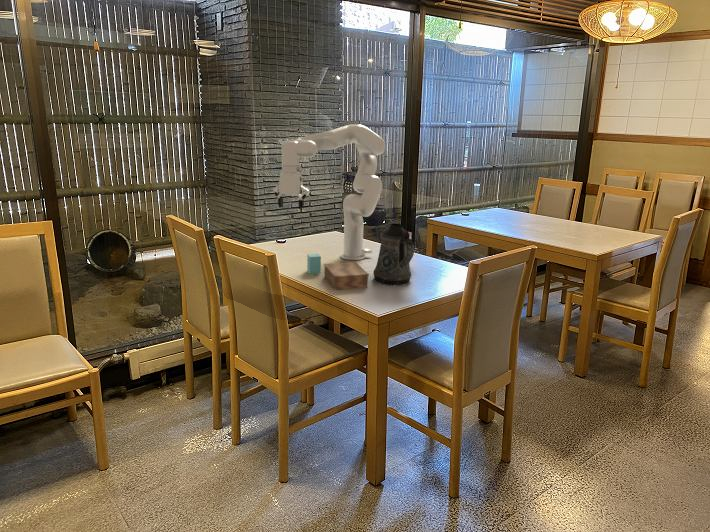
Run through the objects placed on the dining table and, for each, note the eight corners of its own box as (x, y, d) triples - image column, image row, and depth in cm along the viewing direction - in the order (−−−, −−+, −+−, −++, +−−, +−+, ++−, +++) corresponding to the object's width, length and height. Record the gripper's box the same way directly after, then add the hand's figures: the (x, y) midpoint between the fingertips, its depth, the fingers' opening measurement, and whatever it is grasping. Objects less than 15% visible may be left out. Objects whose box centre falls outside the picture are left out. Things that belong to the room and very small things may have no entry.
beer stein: (382, 272, 244) (385, 218, 237) (422, 279, 236) (426, 224, 229) (366, 281, 230) (368, 225, 223) (408, 289, 222) (412, 230, 215)
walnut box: (355, 275, 239) (355, 262, 237) (368, 287, 222) (368, 274, 220) (323, 276, 235) (323, 263, 233) (334, 290, 218) (334, 276, 216)
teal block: (318, 270, 244) (318, 253, 242) (320, 273, 240) (320, 256, 237) (307, 271, 243) (307, 254, 241) (309, 274, 238) (309, 257, 236)
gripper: (311, 169, 236) (311, 207, 241) (276, 167, 241) (276, 205, 246) (305, 171, 229) (305, 210, 234) (268, 169, 234) (269, 207, 239)
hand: (290, 207), depth 240 cm, fingers open, 9 cm apart
